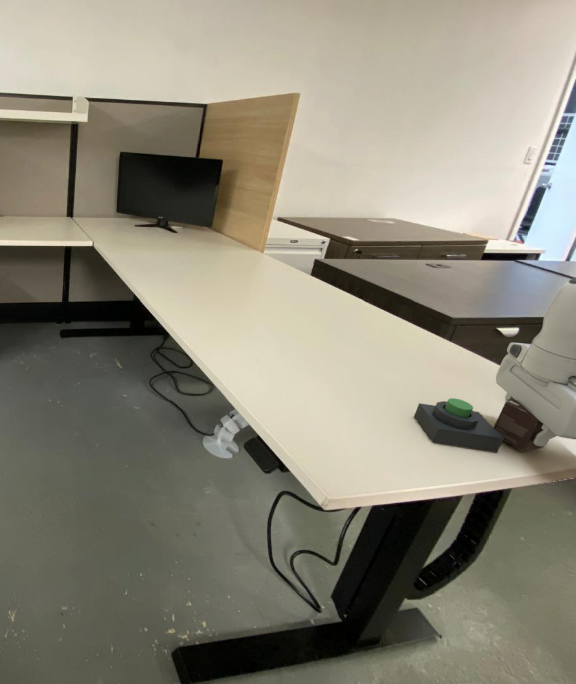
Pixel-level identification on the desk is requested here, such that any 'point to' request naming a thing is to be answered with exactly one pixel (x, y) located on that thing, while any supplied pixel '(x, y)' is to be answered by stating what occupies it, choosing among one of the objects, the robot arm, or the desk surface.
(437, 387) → the desk surface
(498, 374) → the robot arm
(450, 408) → the green button cap
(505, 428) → the box
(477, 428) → the button base
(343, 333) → the desk surface
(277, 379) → the desk surface
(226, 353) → the desk surface
